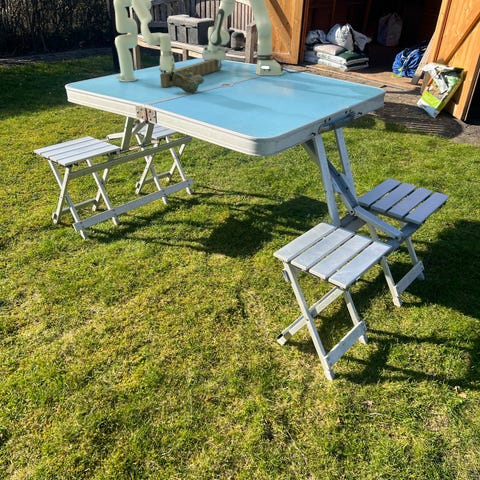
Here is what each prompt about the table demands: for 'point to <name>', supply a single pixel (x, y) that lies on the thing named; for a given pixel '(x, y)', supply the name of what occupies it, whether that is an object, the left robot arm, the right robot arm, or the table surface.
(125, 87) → the table surface
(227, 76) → the table surface
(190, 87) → the teapot
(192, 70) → the bar
